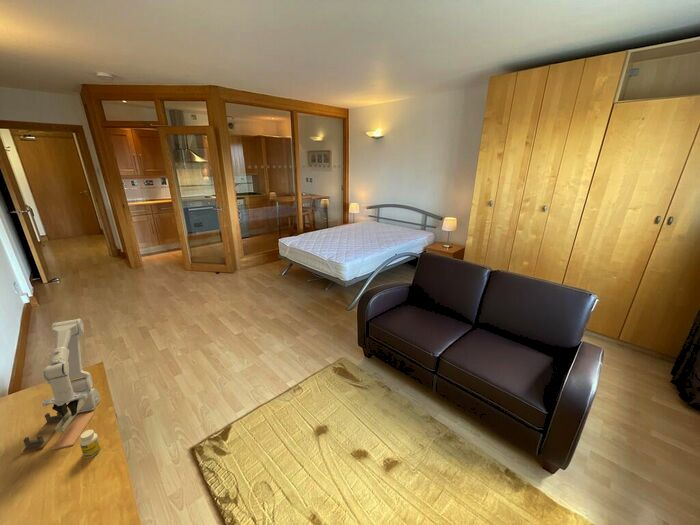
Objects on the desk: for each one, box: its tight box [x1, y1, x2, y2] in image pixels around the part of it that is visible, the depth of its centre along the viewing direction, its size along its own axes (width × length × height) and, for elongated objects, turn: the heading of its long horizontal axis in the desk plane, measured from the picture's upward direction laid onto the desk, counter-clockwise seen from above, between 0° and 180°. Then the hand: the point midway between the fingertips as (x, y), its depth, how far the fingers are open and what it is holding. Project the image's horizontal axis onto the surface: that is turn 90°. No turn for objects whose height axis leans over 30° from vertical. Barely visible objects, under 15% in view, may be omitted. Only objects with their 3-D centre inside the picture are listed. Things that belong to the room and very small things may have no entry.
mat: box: [51, 411, 96, 451], centre depth 125 cm, size 7×18×1 cm, turn 18°
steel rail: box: [55, 399, 84, 434], centre depth 123 cm, size 16×2×2 cm, turn 19°
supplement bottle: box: [79, 429, 102, 459], centre depth 114 cm, size 5×5×10 cm
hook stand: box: [22, 411, 63, 454], centre depth 122 cm, size 17×6×5 cm, turn 19°
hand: (70, 414), depth 123 cm, fingers closed on steel rail, 2 cm apart
